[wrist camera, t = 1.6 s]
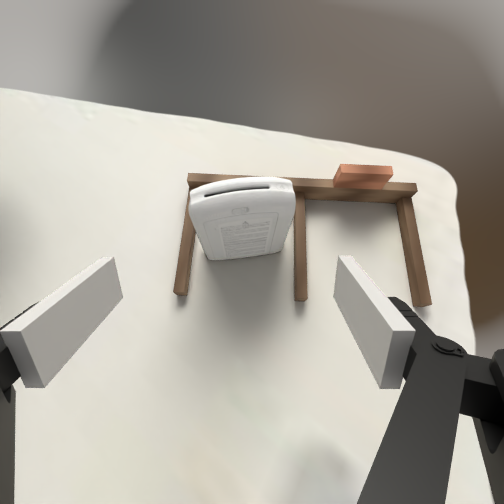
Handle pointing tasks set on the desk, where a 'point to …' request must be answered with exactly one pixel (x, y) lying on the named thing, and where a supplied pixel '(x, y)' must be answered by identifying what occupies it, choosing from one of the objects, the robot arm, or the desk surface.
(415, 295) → the wooden stand frame
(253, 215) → the photo printer
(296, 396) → the desk surface
